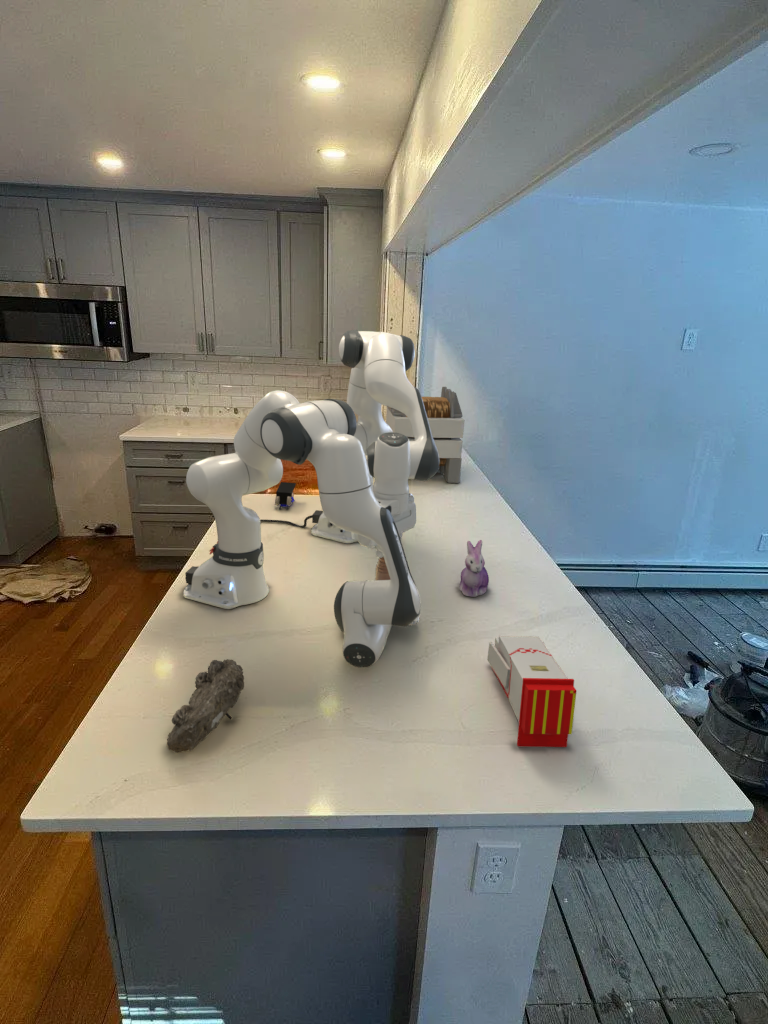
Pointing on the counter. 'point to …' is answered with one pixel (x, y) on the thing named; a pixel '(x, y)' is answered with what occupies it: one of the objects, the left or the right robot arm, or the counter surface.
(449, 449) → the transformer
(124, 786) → the counter surface
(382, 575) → the bottle
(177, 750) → the fossil
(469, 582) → the figurine
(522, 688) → the toy
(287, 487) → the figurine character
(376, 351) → the right robot arm
